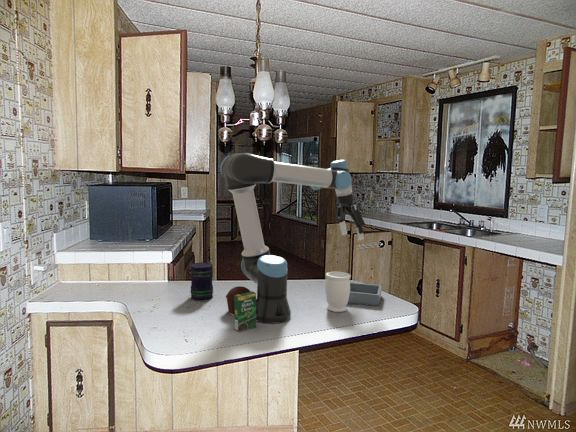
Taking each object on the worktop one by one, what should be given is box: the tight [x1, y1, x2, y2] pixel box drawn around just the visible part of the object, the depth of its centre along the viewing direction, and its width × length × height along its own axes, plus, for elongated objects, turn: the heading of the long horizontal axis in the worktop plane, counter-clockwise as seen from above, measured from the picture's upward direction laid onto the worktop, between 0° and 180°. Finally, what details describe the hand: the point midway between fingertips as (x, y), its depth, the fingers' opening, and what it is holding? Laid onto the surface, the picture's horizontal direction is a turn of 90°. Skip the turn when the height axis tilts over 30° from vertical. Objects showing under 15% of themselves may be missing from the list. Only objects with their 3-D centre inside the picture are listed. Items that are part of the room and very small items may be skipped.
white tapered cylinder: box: [324, 271, 352, 313], centre depth 172 cm, size 11×10×15 cm
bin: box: [347, 282, 382, 307], centre depth 187 cm, size 16×16×5 cm
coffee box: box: [233, 290, 257, 332], centre depth 149 cm, size 8×3×13 cm, turn 127°
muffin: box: [225, 286, 252, 316], centre depth 166 cm, size 12×11×10 cm
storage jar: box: [190, 261, 214, 302], centre depth 183 cm, size 10×10×15 cm
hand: (352, 237), depth 193 cm, fingers open, 13 cm apart
